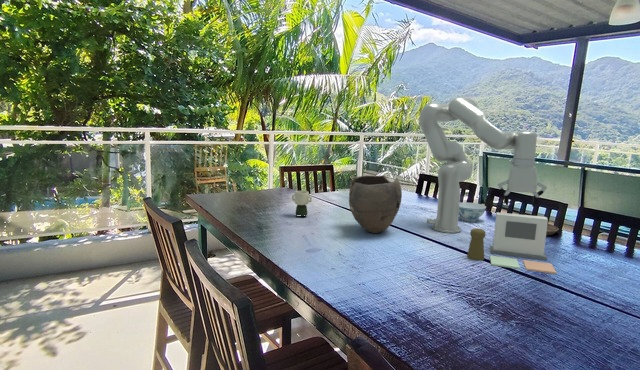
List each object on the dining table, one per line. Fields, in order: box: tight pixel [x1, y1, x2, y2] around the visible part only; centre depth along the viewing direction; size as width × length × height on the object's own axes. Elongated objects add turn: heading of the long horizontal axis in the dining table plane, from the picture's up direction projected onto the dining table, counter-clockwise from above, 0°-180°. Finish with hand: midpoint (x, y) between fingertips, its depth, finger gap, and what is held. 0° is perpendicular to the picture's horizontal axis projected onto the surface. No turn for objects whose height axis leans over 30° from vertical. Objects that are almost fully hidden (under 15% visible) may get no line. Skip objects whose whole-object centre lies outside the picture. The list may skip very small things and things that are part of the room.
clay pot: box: [348, 175, 403, 234], centre depth 171 cm, size 24×24×25 cm
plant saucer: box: [546, 222, 559, 237], centre depth 181 cm, size 21×21×3 cm
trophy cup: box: [291, 190, 313, 216], centre depth 197 cm, size 11×7×13 cm, turn 69°
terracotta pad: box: [522, 259, 557, 275], centre depth 134 cm, size 9×9×1 cm
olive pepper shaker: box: [466, 227, 486, 261], centre depth 142 cm, size 6×6×11 cm
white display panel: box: [489, 211, 549, 261], centre depth 146 cm, size 19×6×15 cm, turn 69°
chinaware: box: [459, 201, 487, 222], centre depth 199 cm, size 15×15×8 cm
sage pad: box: [489, 255, 521, 270], centre depth 138 cm, size 9×9×1 cm
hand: (520, 205), depth 154 cm, fingers open, 9 cm apart
